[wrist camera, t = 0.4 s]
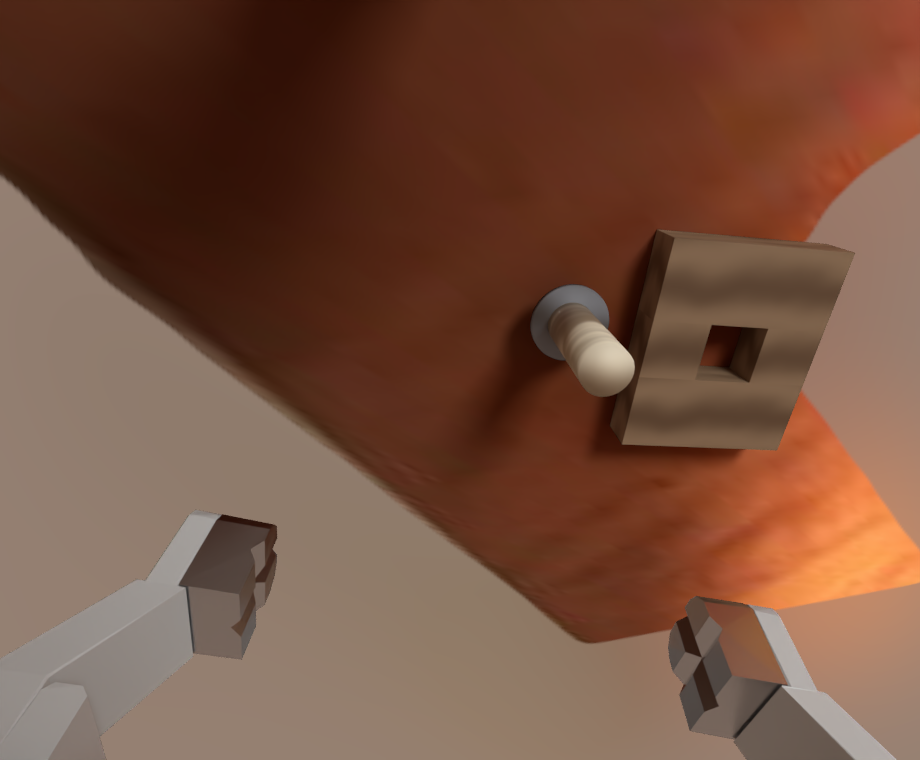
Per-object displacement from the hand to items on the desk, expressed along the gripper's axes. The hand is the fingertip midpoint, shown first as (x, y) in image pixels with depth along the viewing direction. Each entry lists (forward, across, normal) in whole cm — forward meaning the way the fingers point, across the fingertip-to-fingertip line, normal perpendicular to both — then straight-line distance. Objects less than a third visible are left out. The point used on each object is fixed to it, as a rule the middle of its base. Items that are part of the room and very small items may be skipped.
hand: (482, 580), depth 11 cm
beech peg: (+46, -10, +13) cm, 48 cm away
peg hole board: (+48, -27, +13) cm, 56 cm away
